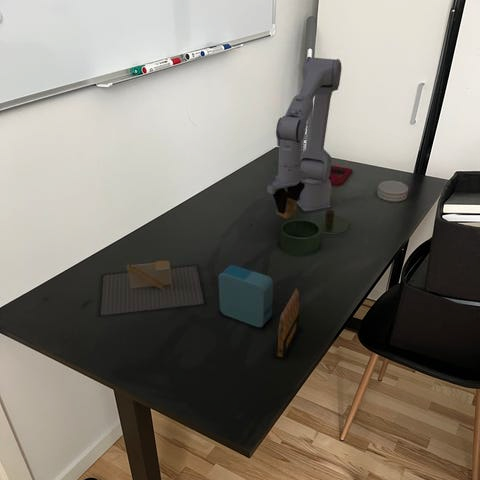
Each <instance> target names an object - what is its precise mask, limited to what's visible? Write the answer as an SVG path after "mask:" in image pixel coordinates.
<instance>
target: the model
mask: <svg viewBox="0 0 480 480" xmlns="http://www.w3.org/2000/svg"><path fill="white" fill-rule="evenodd" d="M171 269H172V268H171V264H170V261H169V260H158V261H157V260H156V261H154V262H151V263H140V264H139V263H138V264H130V263H128V262H126V270H127V272H126V273H127V275H128V281H129V286H130V288H131V289H135V288H144V287H154V286H155V287H156V288H158V289H160V290H164V289H165V288H164V285H170V290H171V291H173V290H174V287H173V278H172V270H171Z"/></svg>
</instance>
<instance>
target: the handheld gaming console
mask: <svg viewBox="0 0 480 480" xmlns="http://www.w3.org/2000/svg"><path fill="white" fill-rule="evenodd" d="M352 172H353V169H352V168H348V167H342V166H337V165H332V164H331V171H330V175H329V178H328V179H329V180H330V182H331V187H333V186H334V187H338V186H339V187H340V186H342V185H343V184H344V183H345V182H346V180H348V178H349V177H350V175H351V174H352Z"/></svg>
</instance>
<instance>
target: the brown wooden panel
mask: <svg viewBox="0 0 480 480" xmlns="http://www.w3.org/2000/svg"><path fill="white" fill-rule="evenodd" d="M299 299H300V296H299V289H298V288H297V287H296V288H295V290H294V292H292V295H291V297H290V298H289V300H288V302H287V304H286V306H285V307H284V309H283V311H282V312H281V314H280V318H279V323H278V324H279V325H278V333H277V337H276V343H275V344H276V345H275V357H277V358H280V359H285V357H286V355H287V353H288V351H289V349H290V347H291V345H292V343H293V341H294V340H295V337H296V335H297V333H298V331H299V324H300V312H299V311H300V303H299Z"/></svg>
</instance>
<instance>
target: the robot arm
mask: <svg viewBox="0 0 480 480" xmlns="http://www.w3.org/2000/svg"><path fill="white" fill-rule="evenodd" d="M342 69H343V68H342V61H341V59H340V58H336V59H333V58H323V57H311V56H306V58H305V59H304V61H303V64H302V71H301V76H302V86H301V87H300V88H301V89H300V91H299V94H297V95H295V96H293V98H292V100H291V102H290V104H289V106H288V108H287V110H286V112H285V114H284V115H283V116H282V117H279V118H278V121H277V123H276V129H275V136H276V139H277V142H276V143H277V144H276V145H277V147H278V165H277V166H278V167H277V174H276V175H275V179H274V180H273V181H272V182H271V183H270V184H268V185H267V191H266V193H268V194H270V195H272V197H273V199H274V201H275V205H276V211H277V210H278V212H280V213H282V214H284V213H285V209H286V202H287V199H288V198H290V199H292V200H295V201H297V206H299V207H300V208H301V209H302V210H303V211H304V212H309V211H314V210H315V211H316V210H319V209H320V210H321V209H325V208H326V209H327V208H330V207H332V206H331V196H332V185H331V182H330V180H329V179H328V178H329V175H330V171H331V165H332V156H331V155H330V153H329V152H328V151H327V150H325V148H324V147H325V141H326V134H327V128H328V122H329V121H328V120H329V113H330V107H331V106H330V105H331V98H332V95H333V92H336V91H338V90H339V87H340V83H341V75H342V71H343V70H342ZM311 112H312V113H311ZM310 115H311V122H310V131H309V139H308V145H307V147H308V148H306V149H304V150H303V151H302V141H303V140H304V138H305V134H306V129H307V126H308V123H307V121H308V119H309V117H310ZM285 188H286V189H285Z"/></svg>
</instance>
